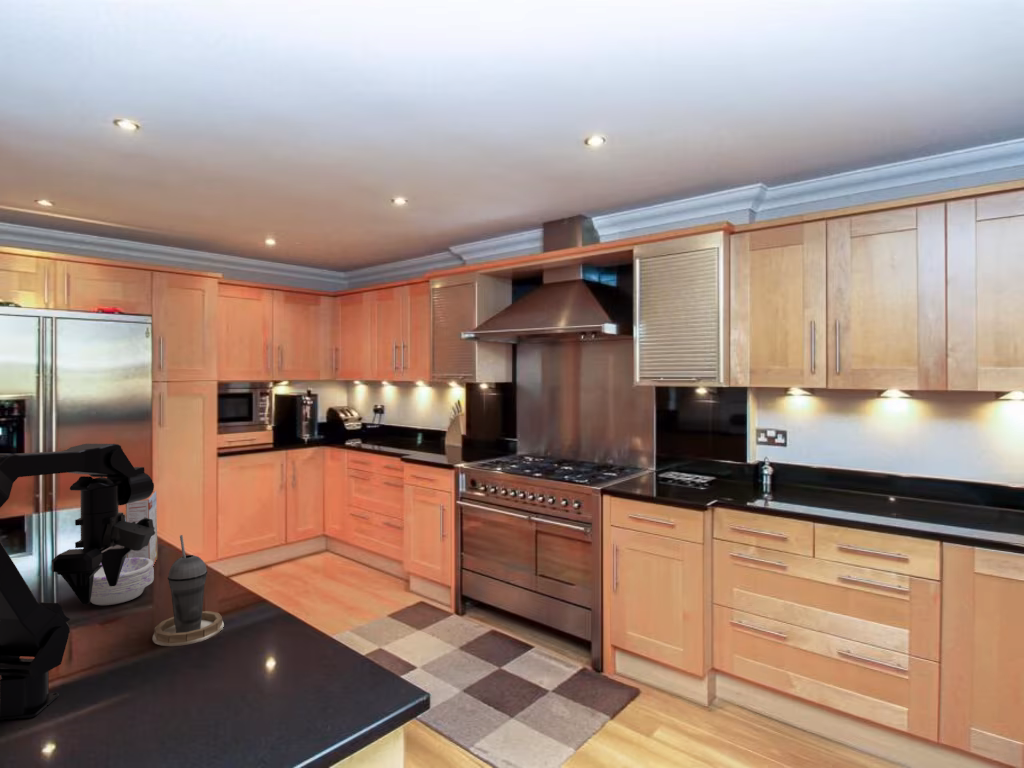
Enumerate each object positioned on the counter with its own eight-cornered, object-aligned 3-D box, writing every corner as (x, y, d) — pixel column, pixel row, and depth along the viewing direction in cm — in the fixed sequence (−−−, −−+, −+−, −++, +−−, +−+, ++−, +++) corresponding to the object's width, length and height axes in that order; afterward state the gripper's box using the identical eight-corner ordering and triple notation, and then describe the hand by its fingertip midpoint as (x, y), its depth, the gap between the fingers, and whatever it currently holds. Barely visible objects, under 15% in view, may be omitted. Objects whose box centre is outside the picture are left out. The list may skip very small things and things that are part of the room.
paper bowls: (75, 616, 128) (74, 581, 128) (80, 595, 141) (80, 563, 141) (154, 601, 136) (154, 568, 136) (153, 583, 149) (153, 553, 149)
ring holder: (211, 643, 114) (211, 633, 114) (140, 648, 112) (140, 638, 112) (232, 617, 127) (232, 608, 127) (168, 621, 124) (168, 612, 124)
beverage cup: (202, 635, 116) (201, 537, 116) (163, 639, 114) (162, 540, 115) (211, 620, 123) (210, 529, 123) (174, 625, 121) (173, 531, 122)
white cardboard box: (134, 562, 167) (134, 491, 167) (158, 559, 169) (157, 489, 170) (124, 576, 154) (124, 500, 154) (150, 573, 157) (150, 498, 157)
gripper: (122, 520, 98) (122, 611, 98) (168, 499, 116) (168, 575, 116) (49, 523, 96) (49, 615, 96) (108, 501, 114) (108, 578, 114)
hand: (100, 594), depth 105 cm, fingers open, 9 cm apart
